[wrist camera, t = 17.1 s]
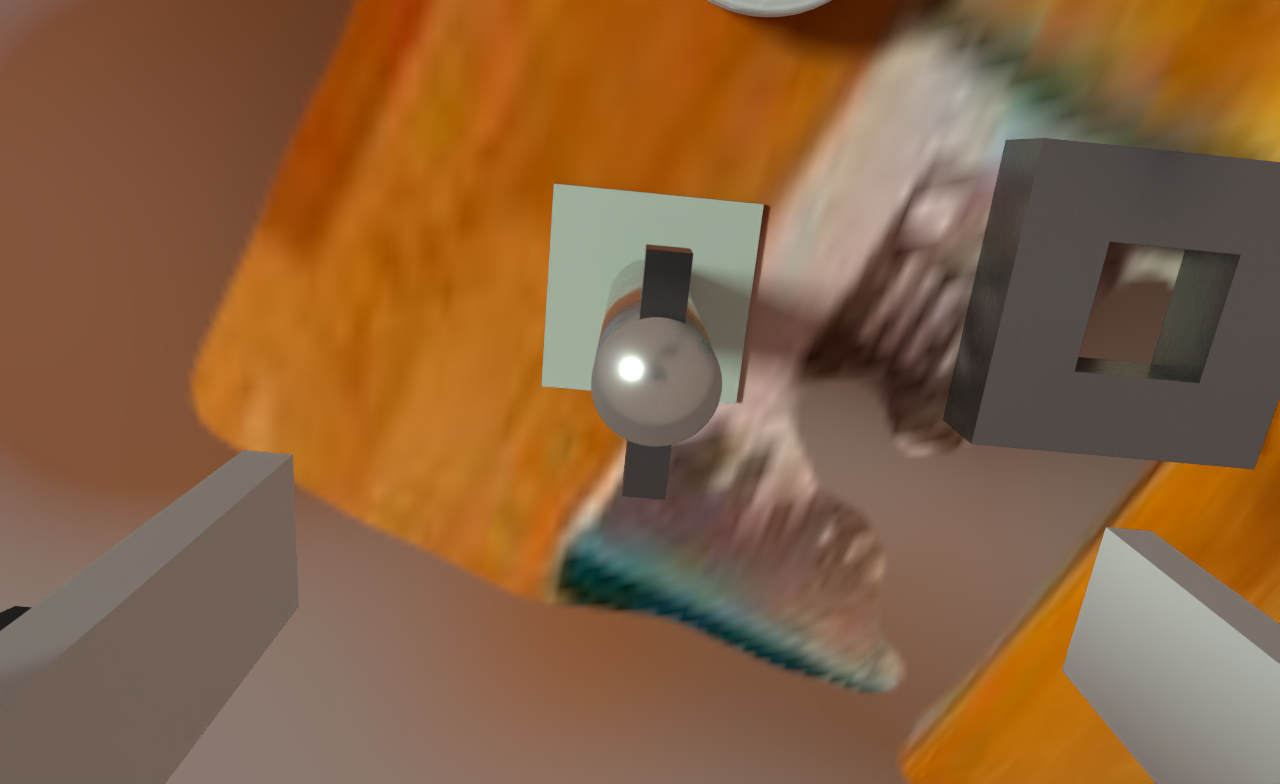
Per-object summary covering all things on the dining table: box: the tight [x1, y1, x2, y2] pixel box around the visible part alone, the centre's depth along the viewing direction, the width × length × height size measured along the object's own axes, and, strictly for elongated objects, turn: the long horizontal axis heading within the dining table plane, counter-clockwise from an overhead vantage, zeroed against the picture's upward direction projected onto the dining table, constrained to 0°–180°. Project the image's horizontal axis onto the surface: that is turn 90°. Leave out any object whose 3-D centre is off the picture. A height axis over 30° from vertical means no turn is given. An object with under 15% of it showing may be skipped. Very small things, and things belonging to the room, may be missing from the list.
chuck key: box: [591, 244, 722, 500], centre depth 30 cm, size 4×8×15 cm, turn 175°
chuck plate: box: [943, 138, 1280, 469], centre depth 36 cm, size 14×14×4 cm
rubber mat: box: [542, 184, 764, 404], centre depth 38 cm, size 10×10×1 cm
